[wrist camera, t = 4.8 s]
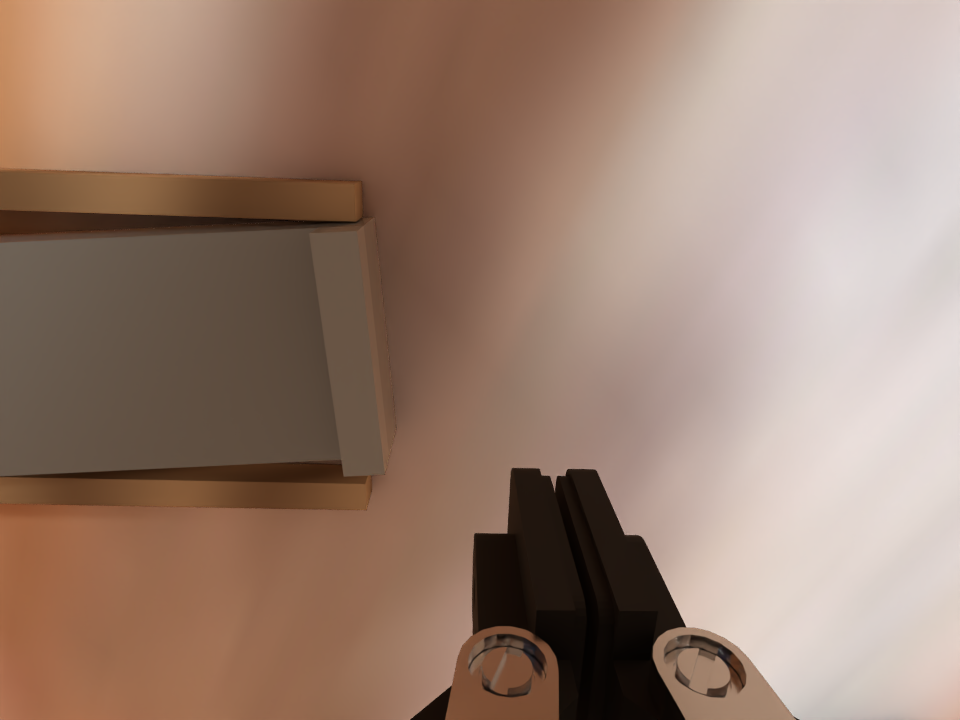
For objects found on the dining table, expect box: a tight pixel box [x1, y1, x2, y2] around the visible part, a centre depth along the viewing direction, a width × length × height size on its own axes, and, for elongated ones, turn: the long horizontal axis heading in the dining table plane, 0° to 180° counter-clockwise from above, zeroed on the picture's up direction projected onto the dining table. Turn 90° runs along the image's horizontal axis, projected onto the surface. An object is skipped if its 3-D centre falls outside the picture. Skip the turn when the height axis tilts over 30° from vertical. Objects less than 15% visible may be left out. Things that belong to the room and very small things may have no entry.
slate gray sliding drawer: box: [0, 217, 396, 477], centre depth 18 cm, size 16×7×3 cm, turn 93°
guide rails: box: [0, 169, 372, 510], centre depth 18 cm, size 18×10×1 cm, turn 88°
